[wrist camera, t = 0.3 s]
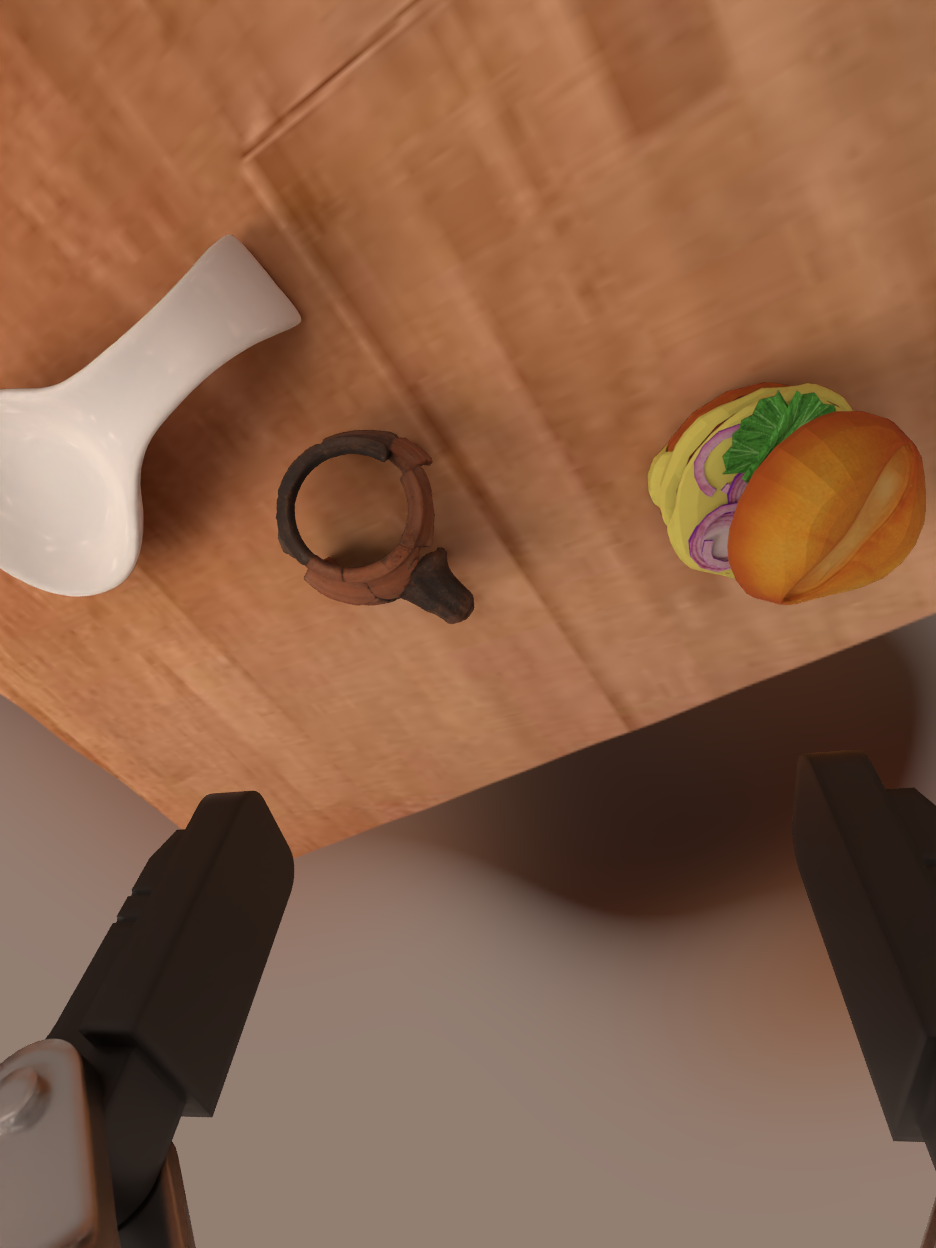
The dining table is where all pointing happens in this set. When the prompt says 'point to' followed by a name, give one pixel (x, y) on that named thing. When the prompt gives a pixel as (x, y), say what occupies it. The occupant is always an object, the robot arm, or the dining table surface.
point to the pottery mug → (400, 568)
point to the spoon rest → (119, 425)
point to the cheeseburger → (790, 492)
